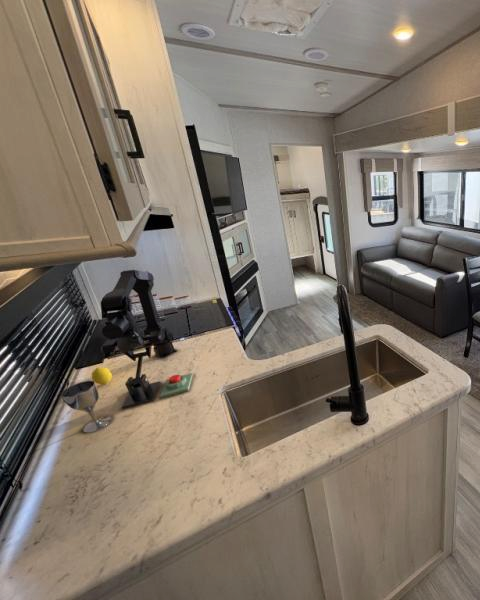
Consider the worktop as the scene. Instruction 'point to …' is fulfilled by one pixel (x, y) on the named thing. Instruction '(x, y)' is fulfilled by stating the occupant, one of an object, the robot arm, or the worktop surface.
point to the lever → (138, 368)
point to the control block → (176, 386)
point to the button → (174, 379)
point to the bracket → (140, 392)
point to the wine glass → (85, 403)
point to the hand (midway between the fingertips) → (142, 359)
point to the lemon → (101, 375)
